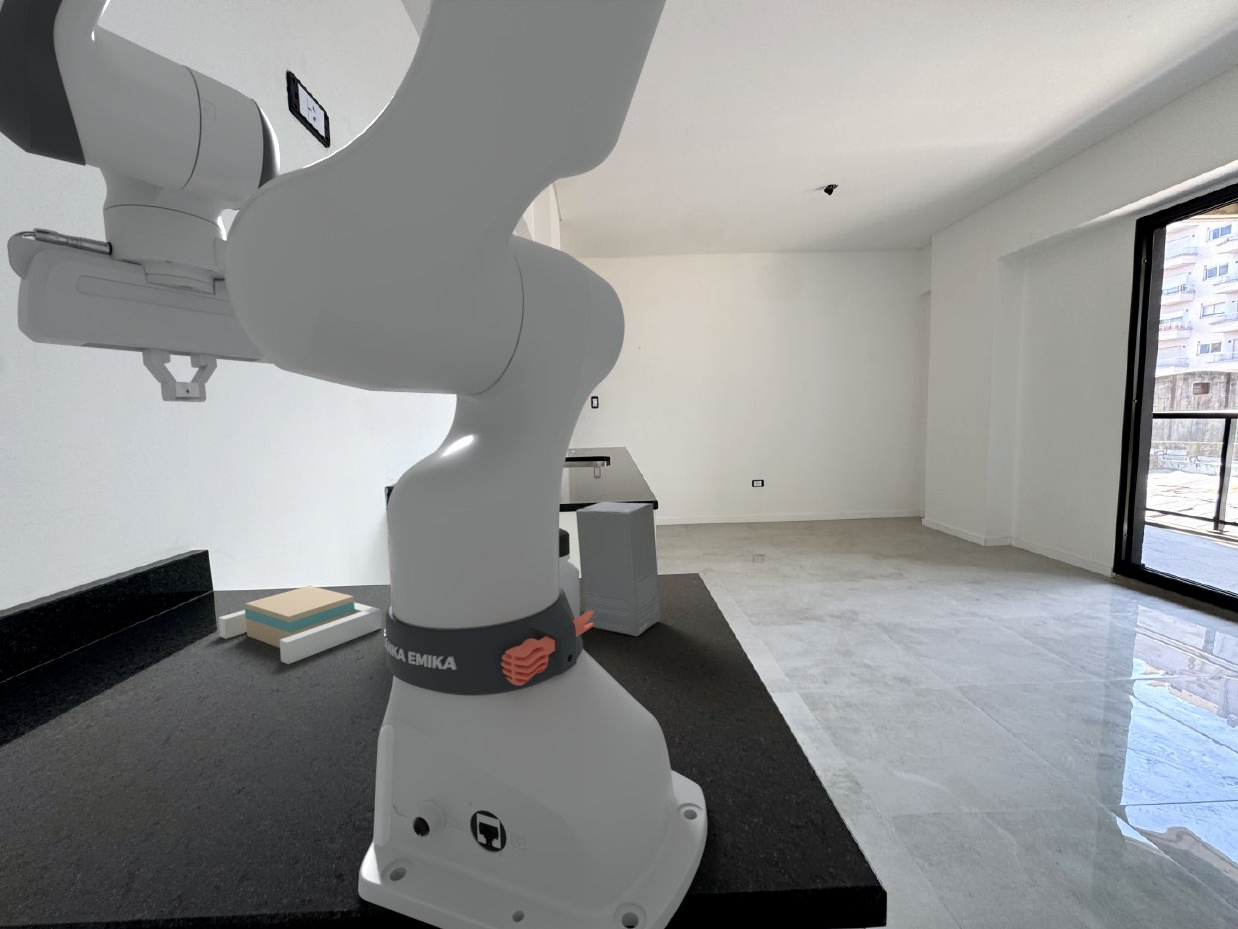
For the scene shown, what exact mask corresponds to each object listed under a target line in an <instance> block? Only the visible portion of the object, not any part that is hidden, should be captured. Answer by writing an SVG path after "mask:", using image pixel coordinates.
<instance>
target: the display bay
mask: <svg viewBox="0 0 1238 929" xmlns="http://www.w3.org/2000/svg"><path fill="white" fill-rule="evenodd" d="M354 607H355V610H354V614H353V615H350V616H347V617H344V618H341V619H338V620H335V621H333V622H330V623H327V624H324V625H321V626H318V627H315V628H312V629H310V630H307V631H304V632H301V633H298V634H295V635H292V636H289V637H286V638H284V639H281V640H280V648H279V651H280V652H279V653H280V661H281V663H283V664H286V665H290V664H292V663H295V662H299V661H300V660H303V659H305V658H308V657H311V656H314V655H316V654H318V653H321V652H323V651H326V650H328V649H331V648H334V647H336V646H339V645H342V644H344V643H346V642H349V641H351V640H355V639H357V638H360V637H362V636H364V635H367V634H369V633H372V632H375V631H377V630H380V629H382V613H381V612H382V610H381V609H380V608H378V607H373V606H370V605H366V604H363V603H358V602H355V601H354ZM218 627H219V628H218V629H219V637H221V638H222V639H225V640H227V639H229V638H233V637H236V636H239V635H242V634H245V632H246V633H247V621H246V617H245V609H243V610H239V611H236V612H233V613H230V614H226V615H222V616H219V617H218Z"/></svg>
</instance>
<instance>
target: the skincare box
mask: <svg viewBox="0 0 1238 929" xmlns="http://www.w3.org/2000/svg"><path fill="white" fill-rule="evenodd" d="M575 513H576V514H575V515H576V525H577V526H576V527H577V537H578V538H577V539H578V548H579V549H578V550H579V564H580V576H581V580H580V581H581V591H582V604H583V605H582V606H583V614H585V613H586V612H588V611H590V610H592V611H594V614H593V615H592V617H591V618H590V620H589V621H588V622H586V623H585V625H587V624H589V623H594V625H593V626H592V627H591V628H594V629H599V630H605V631H609V632H614V633H619V634H623V635H624V634H625V635H629V636H634V637H638V636H639V635H641V634H642V633H644V632H645V631H646V630H647V629H649V628H650V627H652V626H653V625H654V624H656V623H658V622H659V621H660V618H661V617H662V616H661V603H660V588H659V587H660V586H659V576H658V575H659V574H658V558H657V545H656V532H655V531H656V529H655V516H654V503H645V502H644V503H643V502H642V503H641V502H640V503H639V502H636V503H635V502H629V503H628V502H615V501H614V502H613V501H611V502H610V501H601V502H598V503H595V504H592V505H589V506H585V507H583V508H580V509H579V508H578V509H577V510H576V511H575Z"/></svg>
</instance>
